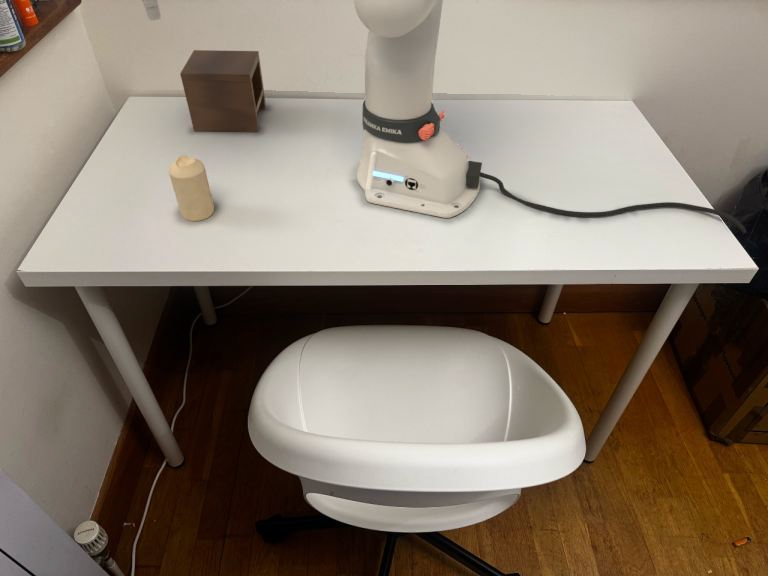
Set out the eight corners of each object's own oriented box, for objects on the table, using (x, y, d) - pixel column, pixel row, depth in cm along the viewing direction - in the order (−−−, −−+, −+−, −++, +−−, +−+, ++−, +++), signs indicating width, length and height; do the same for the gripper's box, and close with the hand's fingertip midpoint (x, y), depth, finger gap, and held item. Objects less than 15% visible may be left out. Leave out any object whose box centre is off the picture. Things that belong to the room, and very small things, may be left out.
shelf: (266, 106, 122) (258, 50, 114) (258, 132, 114) (249, 74, 106) (205, 105, 122) (193, 49, 114) (194, 131, 114) (179, 73, 106)
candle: (178, 206, 96) (163, 155, 89) (210, 198, 98) (198, 147, 91) (184, 224, 93) (169, 172, 86) (218, 216, 94) (205, 165, 87)
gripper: (151, -84, 72) (178, 29, 81) (151, -112, 86) (173, -13, 95) (99, -81, 70) (132, 33, 80) (107, -111, 84) (134, -10, 94)
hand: (154, 8), depth 88 cm, fingers open, 8 cm apart
